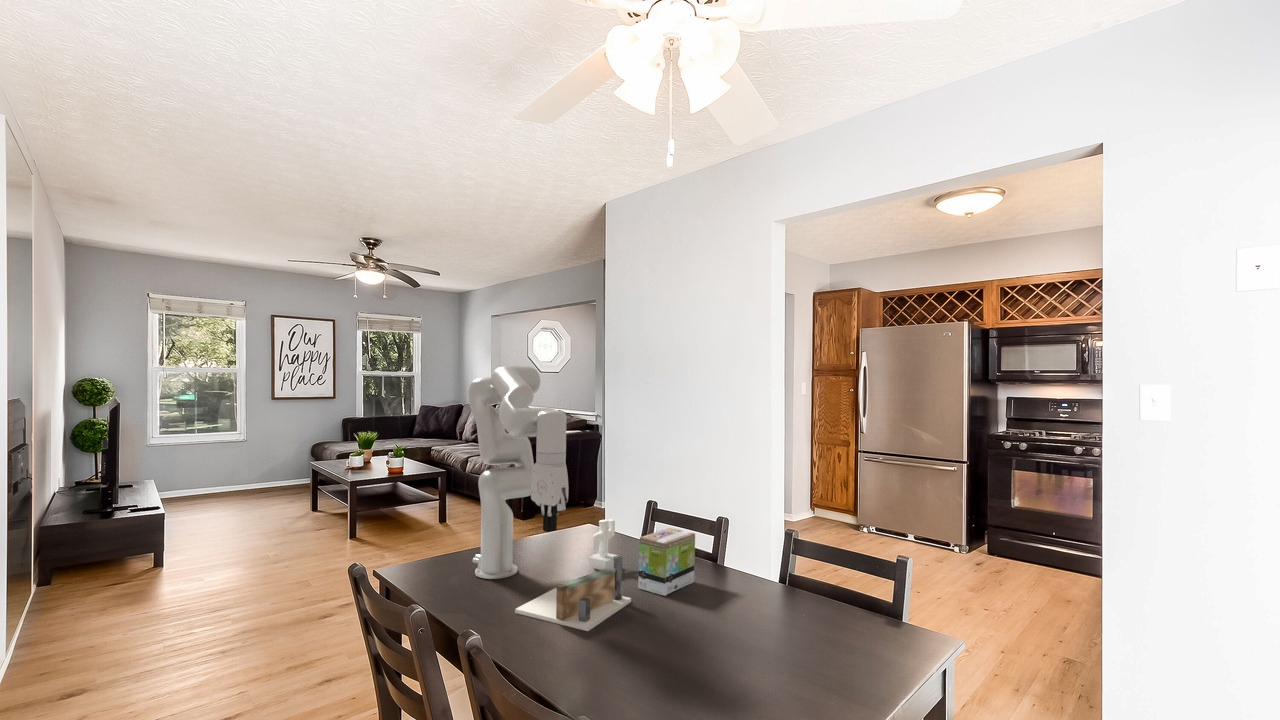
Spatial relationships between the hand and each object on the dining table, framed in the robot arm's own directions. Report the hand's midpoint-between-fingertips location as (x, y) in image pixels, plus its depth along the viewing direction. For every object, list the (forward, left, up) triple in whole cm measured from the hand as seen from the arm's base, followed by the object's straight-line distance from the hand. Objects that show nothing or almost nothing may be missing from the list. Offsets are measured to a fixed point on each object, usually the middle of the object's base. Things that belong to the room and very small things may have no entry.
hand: (549, 530), depth 152 cm
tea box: (+18, +32, -21) cm, 43 cm away
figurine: (-6, +36, -21) cm, 43 cm away
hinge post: (+12, +7, -21) cm, 25 cm away
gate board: (+4, +6, -21) cm, 22 cm away
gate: (+9, +4, -19) cm, 22 cm away
